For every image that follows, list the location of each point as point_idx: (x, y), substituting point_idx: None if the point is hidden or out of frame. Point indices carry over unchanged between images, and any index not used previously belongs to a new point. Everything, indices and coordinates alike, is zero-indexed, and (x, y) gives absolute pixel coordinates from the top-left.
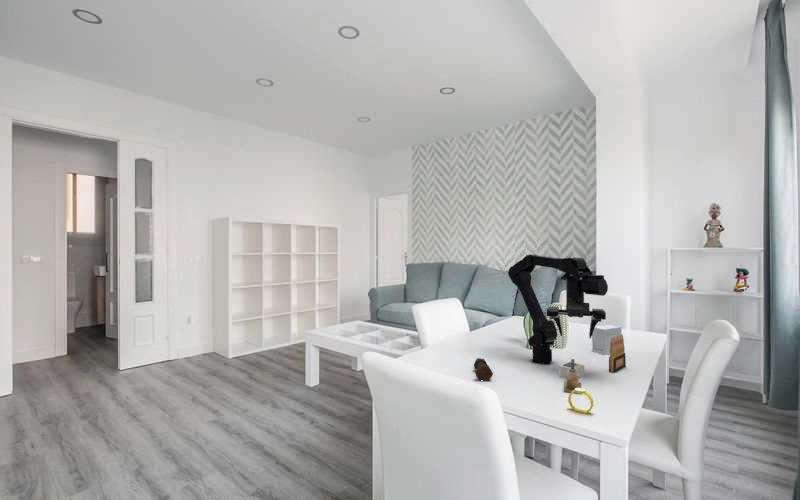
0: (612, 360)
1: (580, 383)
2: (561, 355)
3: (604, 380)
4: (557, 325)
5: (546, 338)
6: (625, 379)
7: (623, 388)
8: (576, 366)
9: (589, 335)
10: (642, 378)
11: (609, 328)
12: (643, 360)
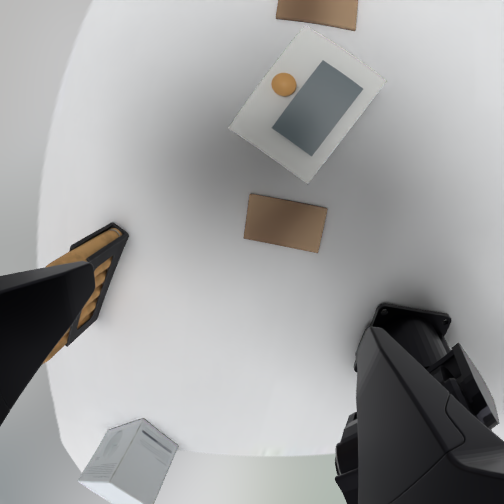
0: (84, 245)
1: (281, 6)
2: (288, 420)
3: (161, 98)
4: (467, 412)
5: (444, 381)
6: (88, 146)
7: (118, 29)
8: (281, 73)
9: (73, 273)
10: (47, 181)
11: (98, 483)
12: (58, 365)
